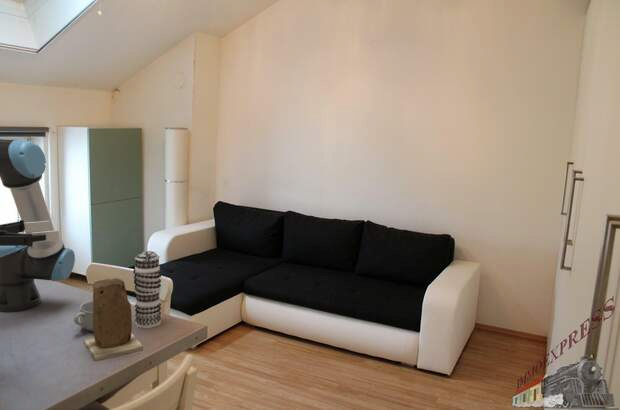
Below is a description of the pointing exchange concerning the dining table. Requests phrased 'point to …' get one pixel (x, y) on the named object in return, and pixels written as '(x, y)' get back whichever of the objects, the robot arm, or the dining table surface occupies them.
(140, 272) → the decorative candle
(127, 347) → the beige packet
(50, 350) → the dining table surface
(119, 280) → the block
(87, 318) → the teacup
